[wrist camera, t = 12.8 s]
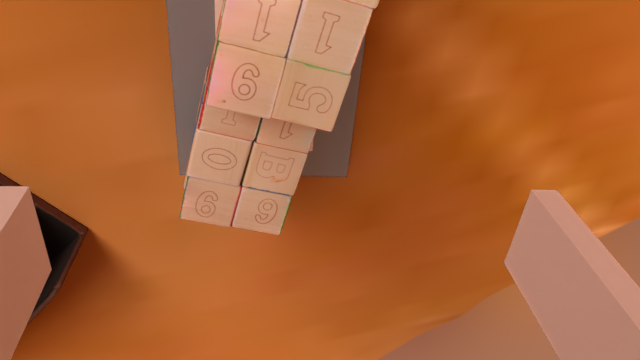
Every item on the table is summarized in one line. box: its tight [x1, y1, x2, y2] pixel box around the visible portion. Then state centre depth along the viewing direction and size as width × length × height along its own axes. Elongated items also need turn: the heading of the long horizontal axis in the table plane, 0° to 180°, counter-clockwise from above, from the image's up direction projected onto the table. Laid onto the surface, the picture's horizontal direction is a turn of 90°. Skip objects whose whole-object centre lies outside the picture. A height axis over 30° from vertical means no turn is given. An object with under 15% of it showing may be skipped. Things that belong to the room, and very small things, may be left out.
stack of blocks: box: [180, 0, 380, 235], centre depth 28 cm, size 21×6×12 cm, turn 162°
